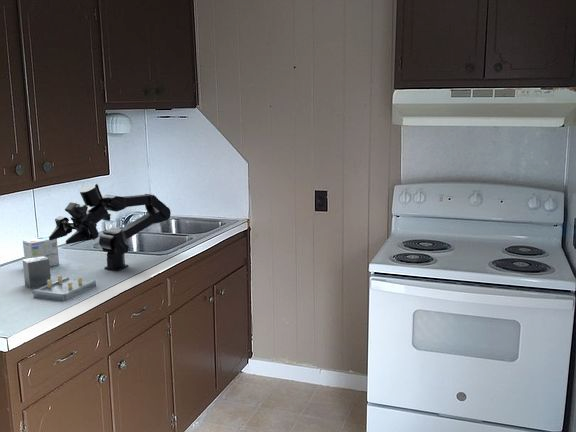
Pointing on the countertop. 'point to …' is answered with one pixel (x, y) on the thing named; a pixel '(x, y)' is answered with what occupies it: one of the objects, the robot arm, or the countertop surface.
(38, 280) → the block
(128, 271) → the countertop surface
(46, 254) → the light bulb box
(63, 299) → the dock
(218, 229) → the countertop surface
